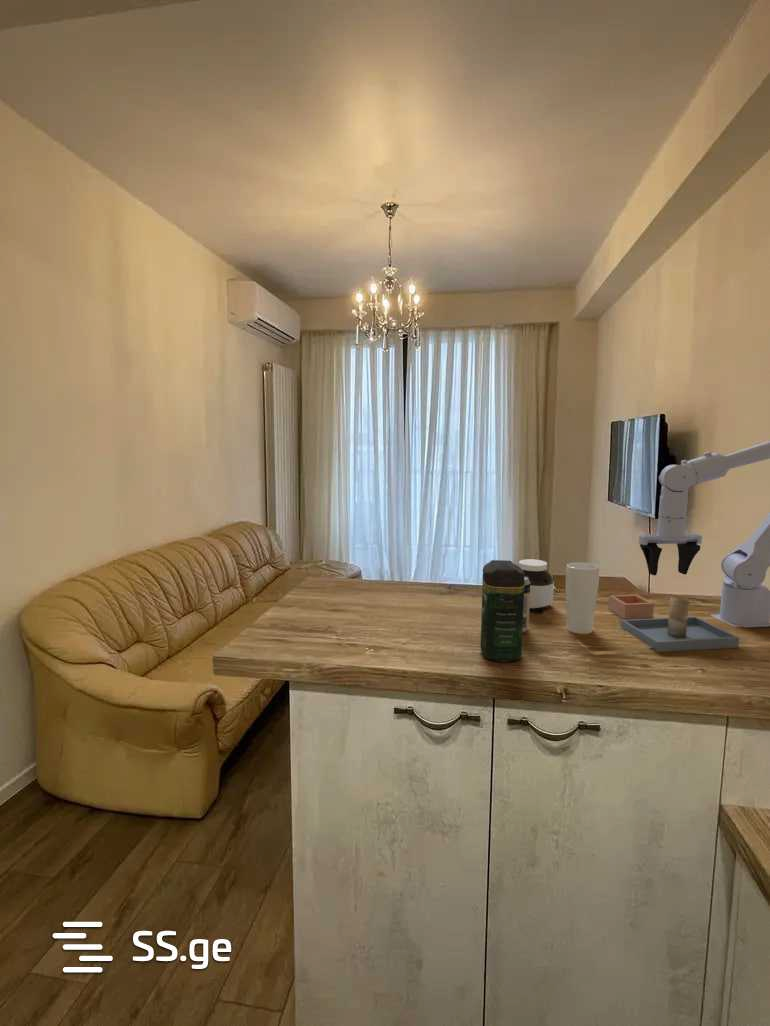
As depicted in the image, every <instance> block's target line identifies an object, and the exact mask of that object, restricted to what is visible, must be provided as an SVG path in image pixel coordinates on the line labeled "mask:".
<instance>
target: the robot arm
mask: <svg viewBox="0 0 770 1026" xmlns="http://www.w3.org/2000/svg"><path fill="white" fill-rule="evenodd" d="M702 455H703V456H700V457H695V458H693V459H689V460H687V459H683V460H681V461H680V464H669V465H667V466H665V467H664V468H663V469H662V470H661V472H660V475H658V481H659V483H660V485H661V489H660V496H659V504H658V506H659V507H658V519H657V520H658V521H657V532H656V533H650V534H639V536H638V544H639V547H640V549H641V550H642V553H643V555H644V558H645V561H646V566H647V570H648V571H647V573H648V574H649V575H652V576H657V574H658V569H659V562H660V561H659V560H660V557H661V554H662V551H663V548H662V547H659V545H664V544H665V545H666V544H667V545H669V544H670V545H671V544H674V545H675V544H676V546H677V552H678V564H677V571H678V573H680V574H682V575H687V574H688V571H689V569H690V565H692V562H693V560H694V558H695V556H696V555H697V553H699V551H700V550H701V545H700V544H702V543H703V542H702V541H703V540H702V539H703V535H701V534H698V533H686V527H687V525H686V524H687V512H688V503H689V502H688V501H689V498H688V496H689V494H688V493H689V489H690V488H691V486H692V485H693V486H696V485H699V484H704V483H706V482H710V481H714V480H717V479H720V478H724V477H725V476H726V475H727V474H728V472H729V471H730V469H735V468H738V467H742V466H747V465H750V464H755V463H758V462H762V461H766V460H769V459H770V440H766V441H765V442H762V443H758V444H756V445H752V446H749V447H746V448H743V449H740V450H737V451H734V452H731V453H729V454H725V455H723V454H720V453H719V452H713V453H712V452H711V451H706V452H703V454H702ZM720 567H721V570H722V573H724V575H725V576H724V578H723V579H722V584H721V585H722V587H721V598H720V608H719V613H716V614H715V613H714V614H710V616H711V617H713V618H716V620H717V619H718V620H720V621H722V622H724V623H726V624H728V625H730V626H732V627H735V628H738V627H743V628H749V629H750V628H762V627H763V628H764V627H765V628H766V627H768V628H769V627H770V589H769V588H768V587H767V586H766V585H765V584H763V583H764V582H765V579H766V576H767V571H768V569H769V567H770V512H768V514H767V515H766V517H765V518H764V519H763V520H762V522H761V523H760V524H759V525H758V527H757V528H756V529H755V530H754V532H753V533H752V534H751V536H750V537H749V538H748V539H747V540H746V541H744V542H743V543H740V544H739V545H738V546H737V547H736V549H734V551H732V552H729V553H727V554H726V555H725V556H724V557H723V558H722V560H721V563H720Z"/></svg>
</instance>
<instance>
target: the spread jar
mask: <svg viewBox="0 0 770 1026" xmlns="http://www.w3.org/2000/svg"><path fill="white" fill-rule="evenodd" d="M518 566H519V567H520V568H521V569H522V570H523V572H524V576H526V577H528V579H529V581H530V606H529V613H539V612H540V613H541V612H543V611H544V610H547V609H548V608H549V607H550V606H551V605H552V603H553V601H554V595H555V581H554V578H553V576H552V574H551V572H549V571H548V562H546V561H545V560H540V559H530V558H528V559H527V558H525V559H520V560H519V561H518Z"/></svg>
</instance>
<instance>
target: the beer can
mask: <svg viewBox="0 0 770 1026" xmlns="http://www.w3.org/2000/svg"><path fill="white" fill-rule="evenodd" d="M524 578H525V579H524V581H525V586H524V609H523V630H522V634H523V633H526V632H527V631H529V629H530V628H529V625H530V612H529V606H530V581H529V579H528V577H526V576H524Z"/></svg>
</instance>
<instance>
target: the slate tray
mask: <svg viewBox="0 0 770 1026" xmlns="http://www.w3.org/2000/svg"><path fill="white" fill-rule="evenodd" d="M668 621H669V617H655V618H637V619H621V620H620V627H621V628H622V629H623V630H625V631H627V632H628V633H630V634H632V635H633V636H635V637H636V638H638V639H639V640H641V641H642V642H644V643H646V644H647V645H648V646H650V649H651V650H652V651H654V652H655V653H665V652H685V651H698V650H700V651H701V650H702V651H703V650H717V649H718V650H719V649H734V648H739V644H740V642H739V641H740V637H739V636H736V635H734V634H732V633H731V632H729V631H726V630H725V629H722V628H721V627H718V626H716V625H714V624H712V623H710V622H708V621H706V620H705V619H702V618H700V617H698V616H696V615H695V616H688V619H687V631H686V637H685V638H676V637H672V636H669V635H668Z"/></svg>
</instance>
